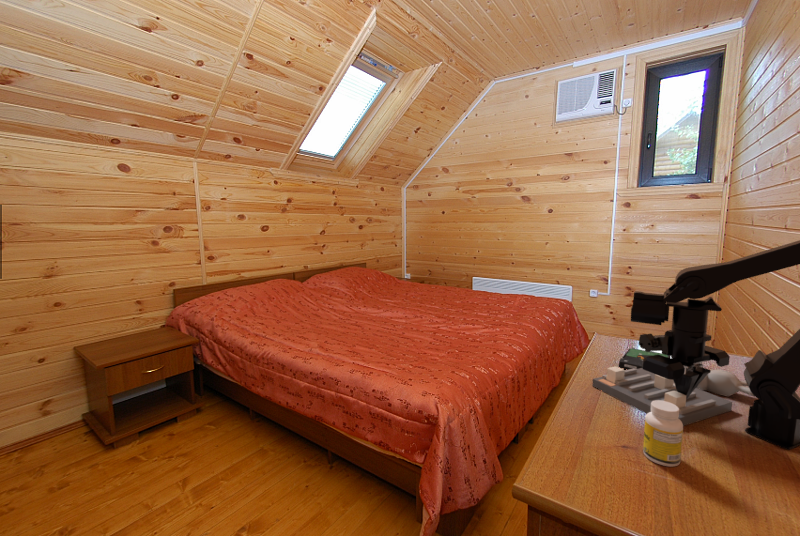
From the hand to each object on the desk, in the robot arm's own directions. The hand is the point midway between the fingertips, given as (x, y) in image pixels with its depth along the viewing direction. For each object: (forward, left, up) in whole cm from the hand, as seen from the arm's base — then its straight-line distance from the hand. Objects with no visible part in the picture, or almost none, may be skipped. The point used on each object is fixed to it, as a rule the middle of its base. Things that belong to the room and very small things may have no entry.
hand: (682, 398), depth 78 cm
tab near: (0, +3, -1) cm, 3 cm away
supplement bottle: (-8, +18, -4) cm, 20 cm away
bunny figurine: (+4, -19, -4) cm, 20 cm away
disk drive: (+21, -19, -4) cm, 29 cm away
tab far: (+14, +2, -1) cm, 14 cm away
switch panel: (+7, -3, -4) cm, 8 cm away
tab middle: (+7, -5, -1) cm, 9 cm away
